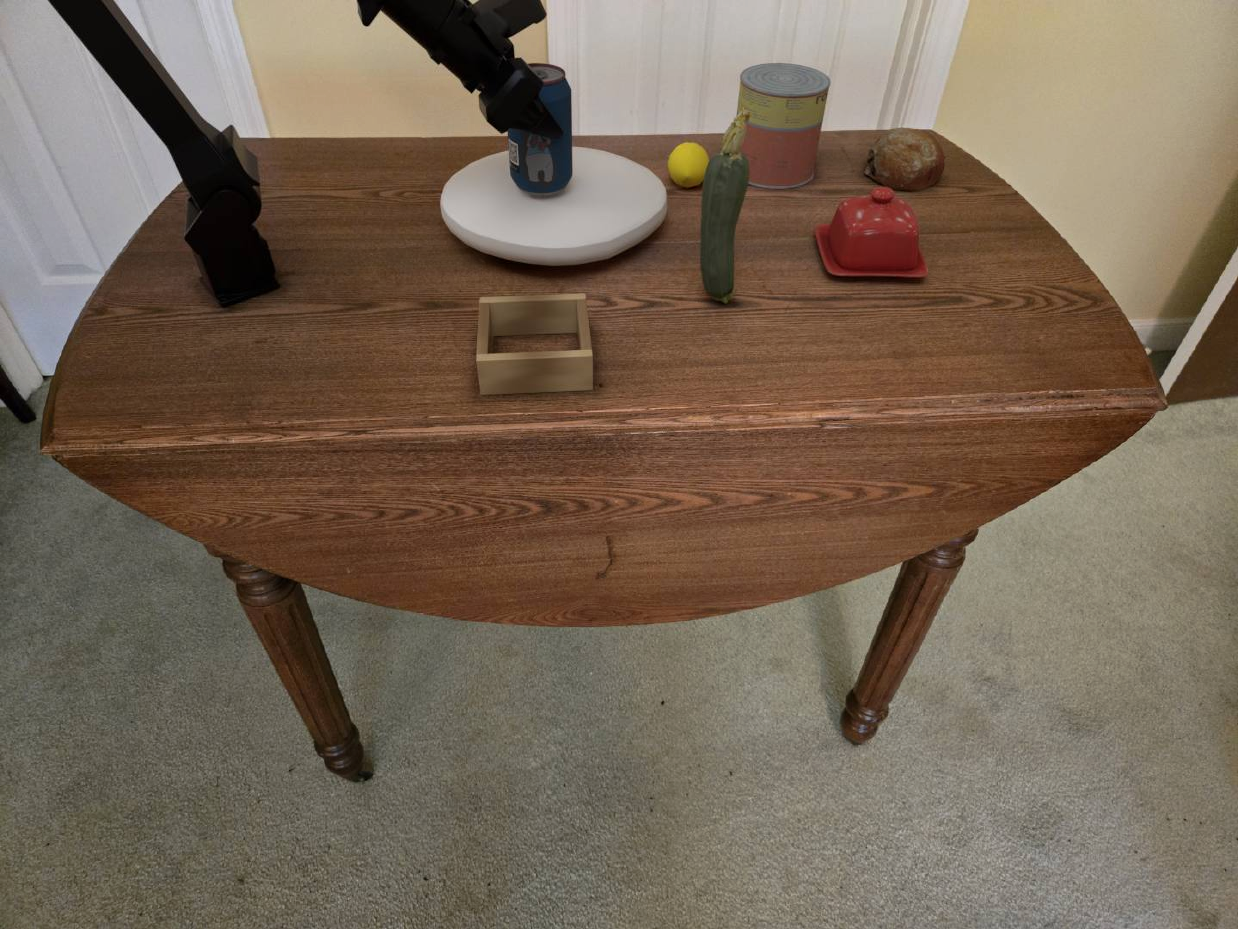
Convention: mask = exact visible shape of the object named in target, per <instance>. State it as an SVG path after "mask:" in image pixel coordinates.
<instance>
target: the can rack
mask: <svg viewBox="0 0 1238 929" xmlns="http://www.w3.org/2000/svg"><path fill="white" fill-rule="evenodd" d="M587 301H588V300H587V294H586V293H584V292H581V293H559V294H558V293H557V294H531V295H528V294H527V295H503V296H500V295H499V296H479V304H478V319H477V321H478V322H477V334H476V335H477V338H476V354H475V356H476V358H475V362H476V363H475V364H476V370H477V379H478V386H479V393H480V396H497V395H517V394H519V395H520V394H540V393H542V394H543V393H560V392H561V393H562V392H564V393H565V392H583V391H584V392H585V391H593V390H594V357H593V356H594V353H593V345H592V337H591V328H590V327H591V326H590V319H589V312H588V304H587V303H588V302H587ZM555 334H557V335H559V334H576V337H577V338H576V339H577V348H578V349H570V350H569V349H568V350H549V351H548V350H547V351H545V350H544V351H525V352H524V351H522V352H501V353H500V352H499V353H494V337H508V336H510V337H511V336H530V335H532V336H533V335H555Z"/></svg>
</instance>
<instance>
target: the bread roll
mask: <svg viewBox="0 0 1238 929" xmlns="http://www.w3.org/2000/svg"><path fill="white" fill-rule="evenodd" d="M945 159H946V156H945V154H944V151H943V149H942V146H941V144H940V142H939V141H938V139H937V138H936V137H935V136H934V135H933V134H931V133H929V132H927V131H926V130H924V129H919V128H913V127H896V128H890V129H888V130H887V131H885V132H883V133H882V134H880V135H879V137H878V138H877V139H876V140H875V141H874V143H873V144H872V145H871V147H870V149H869V151H868V153H867V158H866V163H865V166H866V168H865V170H864V175H866V176H868V177H869V178H870V179H872V180H874V182H876V183H879V184H881V185H883V187H888V188H890V189H892V190H893V191H905V192H918V191H921V190H924V189H927V188H930V187H933V186H934V185H935V184H936V183H937V182H938V181H939V180H940V179H941V177H942V174H943V172H944V170H945Z"/></svg>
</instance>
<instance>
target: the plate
mask: <svg viewBox="0 0 1238 929" xmlns="http://www.w3.org/2000/svg"><path fill="white" fill-rule="evenodd" d="M572 168H573V174H572V177H571V179H570V181H569V183H568V184H567V186H566V188H565V189H564V190H563V191H561V192H559V193H556V194H552V195H544V196H539V195H531V194H527V193H525V192H523V191H521V190H520V189H519V188H518V187H517V185H516V184H515V182H514V181H513V179H512V178H511V175H510V163H509V149H508V150H504V151H501V152H498V153H493V154H490V155H487V156H485V157H482V158H480V159H477V160H475V161H473V162H470V163H469V164H467V165H466V166H464V167H463V168H462V169H460V170H459V171H457V172H456V173H454V174H453V175H452V176H451V177H450V178H449V179H448V180H447V182H446V183H445V184H444V186H443V189H442V193H441V195H440V201H439V202H440V203H439V206H440V212H441V213H440V214H441V219H442V220H443V222H444V224H445V225H446V227H447V228H448V230H449V231H450V232H451V233H452V234H453V235H454V236H455V237H456V238H457V239H459V241H461V242H462V243H463V244H465V245H466V246H468V247H471V248H472V249H475V250H476V251H479V252H480V253H483V254H487V255H490V256H494V257H497V258H500V259H504V260H507V261H513V262H517V263H523V264H529V265H539V266H550V267H555V266H556V267H557V266H577V265H583V264H589V263H593V262H598V261H604V260H609V259H611V258H612V257H614V256H617V255H619V254H621V253H623V252H625V251H627V250H628V249H630V248H632V247H634V246H636V245H637V244H639V243H641V242H642V241H643V240H645V239H647V238H648V237H649V236H650V235H652V234H653V233H654V232H655V231H656V230H657V229H659V227H660V226H661V225H662V224H663V222H664V220H665V218H666V215H667V213H668V194H667V188H666V186H665V185H664V183H663V181H662V180H661V179H660V178H659V177H658V176H657V175H655V173H654V172H652V171H651V169H649V168H648V167H645V166H643V165H642V164H639V163H637V162H635V161H633V160H631V159H629V158H627V157H625V156H622V155H619V154H615V153H613V152H609V151H606V150H601V149H597V148H591V147H584V146H583V147H582V146H573V145H572Z"/></svg>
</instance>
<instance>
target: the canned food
mask: <svg viewBox="0 0 1238 929" xmlns="http://www.w3.org/2000/svg"><path fill="white" fill-rule="evenodd" d="M739 79H740V80H739V81H740V82H739V90H738V99H737V108H736V116H737V115H738V114H739V112H741V111H742V108H743V107H746V109H747V110H749V111H750V113H751V114H750V115H751V116H750V119H749V121H747V124H746V134H745V139H744V143H743V145H742V147H740V149H739V151H740V152H741V153H743V154H744V156H745V157H746V158H747V160H748V163H749V169H750V172H749V182H748V185H749V186H753V187H757V188H762V189H767V190H769V189H770V190H789V189H795V188H798V187H802V186H804V185H806V184H808V183H809V182H810V181H811V180H813V178H814V174H815V172H814V170H815V164H816V160H817V154H818V149H819V143H820V137H821V132H822V127H823V123H824V122H823V121H824V116H825V111H826V105H827V100H828V95H829V89H830V87H831V83H832V82H831V79H830V77H829V76H828V75H827V74H826V73H824V72H822V71H821V70H818V69H816V68H813V67H810V66H805V65H802V64H795V63H786V62H785V63H784V62H767V63H760V64H756V65H751V66H749V67H747V68H745V69H743V70H742V71H741V72H740V75H739Z"/></svg>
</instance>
